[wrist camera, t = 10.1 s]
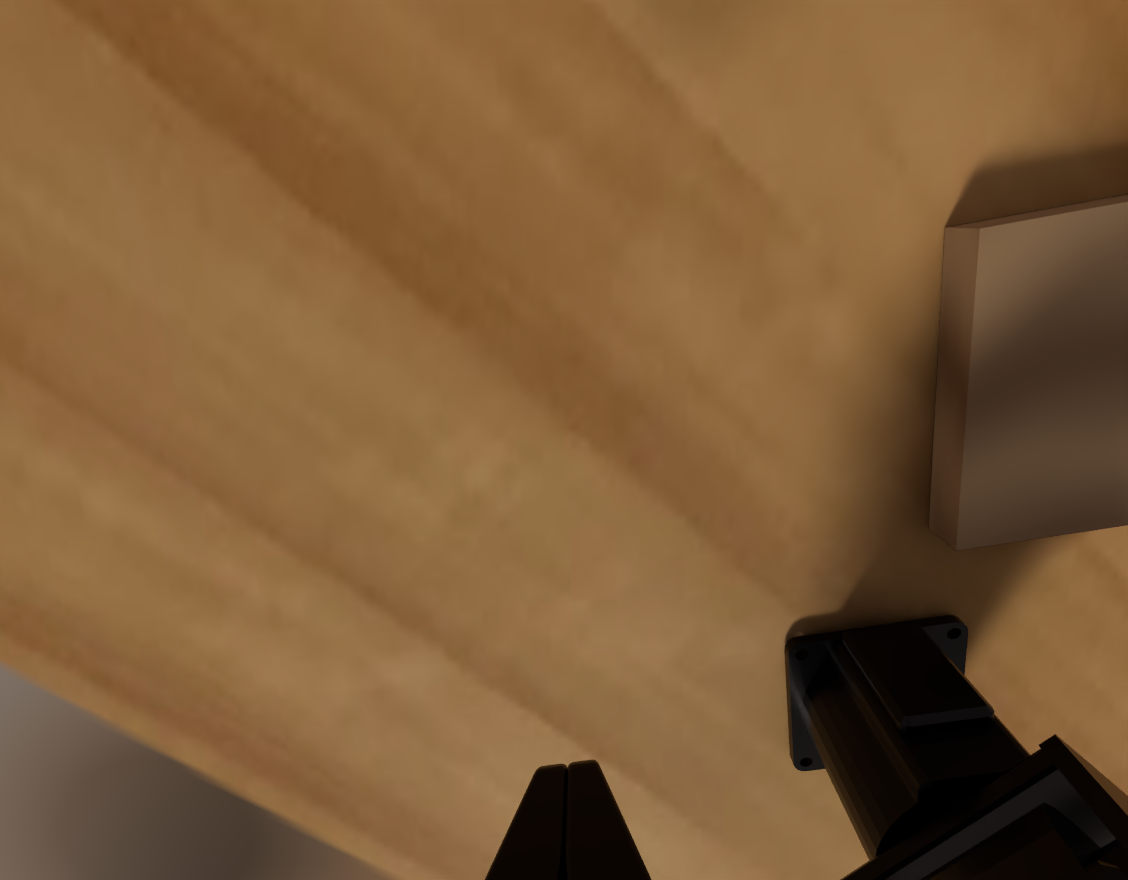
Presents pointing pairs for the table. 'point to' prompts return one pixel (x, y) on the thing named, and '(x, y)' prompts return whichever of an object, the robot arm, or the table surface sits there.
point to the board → (1032, 377)
